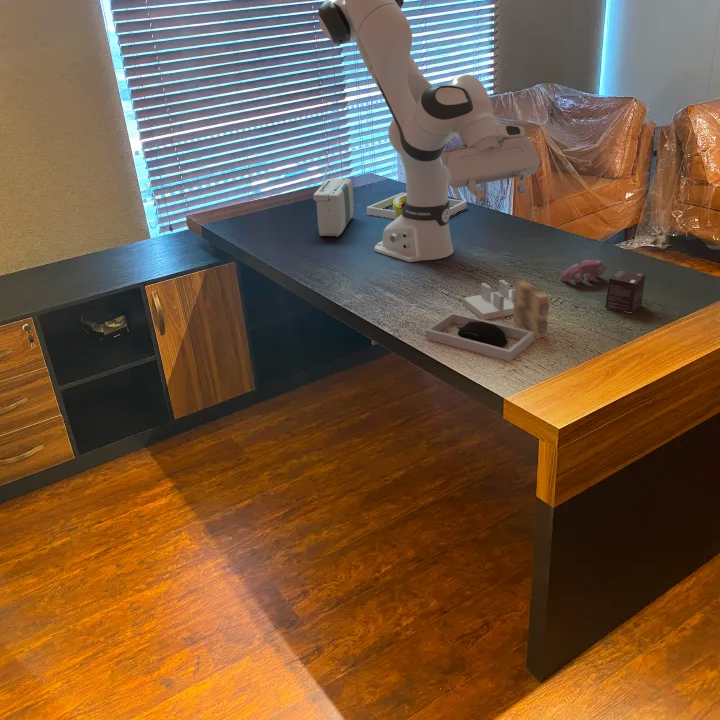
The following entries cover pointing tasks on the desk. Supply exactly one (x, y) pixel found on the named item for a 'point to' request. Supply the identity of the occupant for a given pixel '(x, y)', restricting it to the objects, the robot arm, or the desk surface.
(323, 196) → the stereo radio cassette player
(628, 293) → the box
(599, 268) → the video game controller
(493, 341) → the gaming mouse
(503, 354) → the mouse tray
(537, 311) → the tan upright panel
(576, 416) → the desk surface
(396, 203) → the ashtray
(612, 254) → the desk surface
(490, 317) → the white slotted stand
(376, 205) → the white rectangular tray
